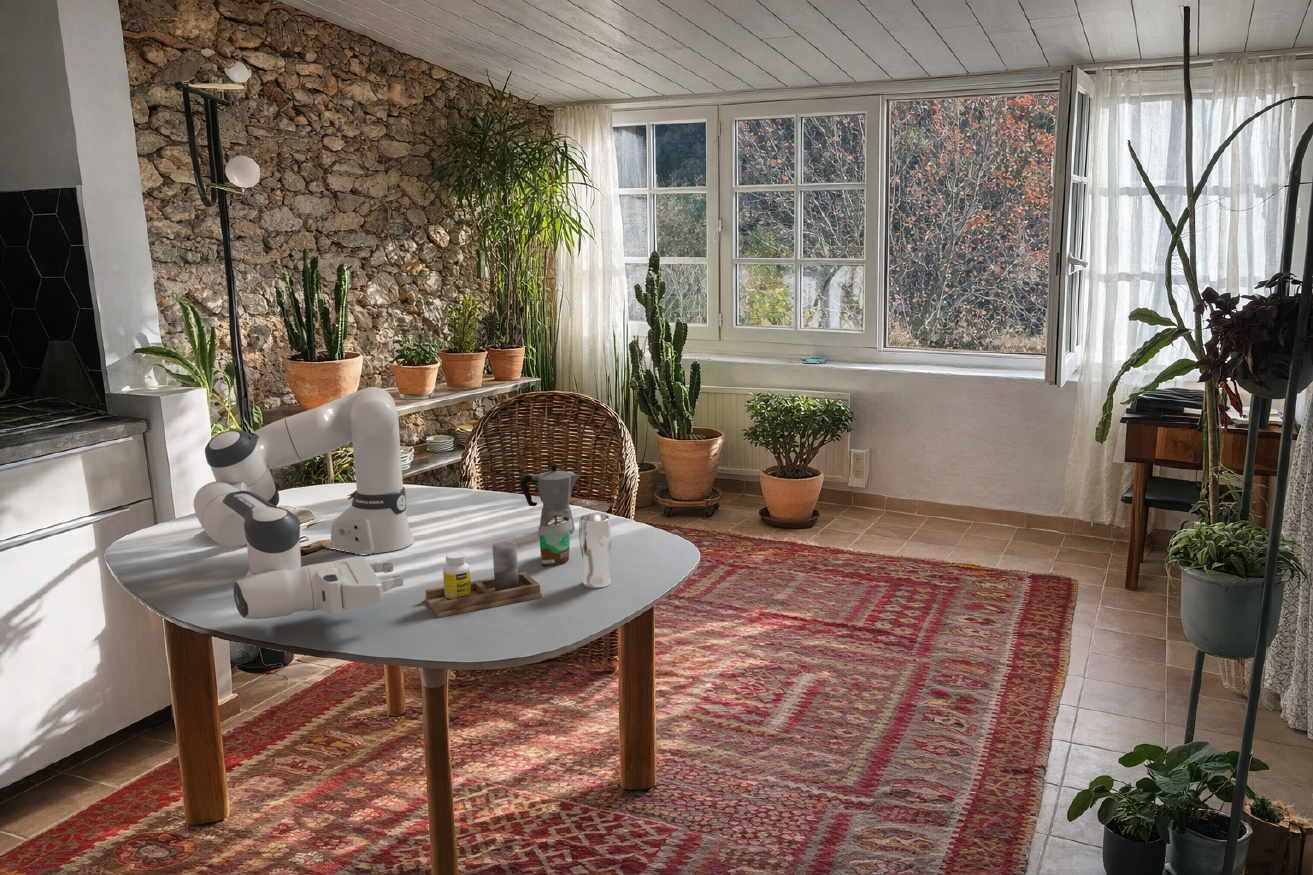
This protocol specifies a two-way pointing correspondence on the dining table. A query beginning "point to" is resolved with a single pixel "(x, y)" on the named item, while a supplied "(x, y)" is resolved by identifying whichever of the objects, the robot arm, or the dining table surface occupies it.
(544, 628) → the dining table surface
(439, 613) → the wooden compartment tray
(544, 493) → the coffeepot
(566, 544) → the food container
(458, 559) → the supplement bottle
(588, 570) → the beer glass
